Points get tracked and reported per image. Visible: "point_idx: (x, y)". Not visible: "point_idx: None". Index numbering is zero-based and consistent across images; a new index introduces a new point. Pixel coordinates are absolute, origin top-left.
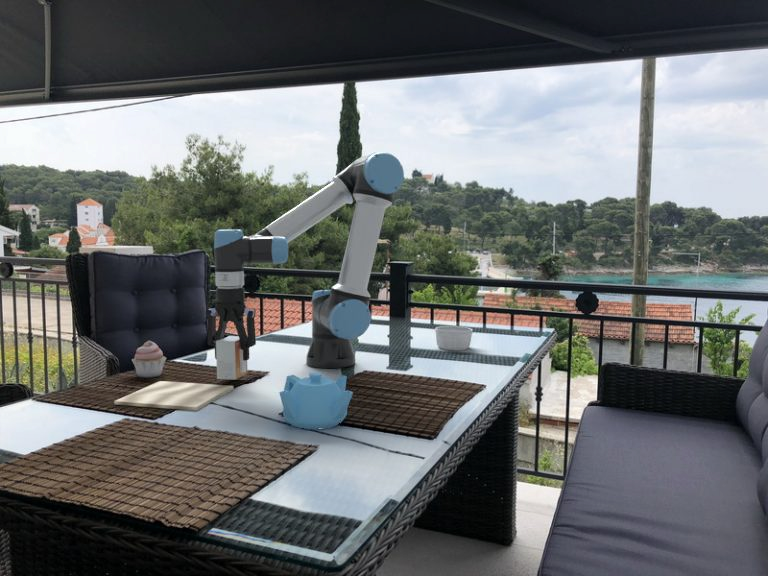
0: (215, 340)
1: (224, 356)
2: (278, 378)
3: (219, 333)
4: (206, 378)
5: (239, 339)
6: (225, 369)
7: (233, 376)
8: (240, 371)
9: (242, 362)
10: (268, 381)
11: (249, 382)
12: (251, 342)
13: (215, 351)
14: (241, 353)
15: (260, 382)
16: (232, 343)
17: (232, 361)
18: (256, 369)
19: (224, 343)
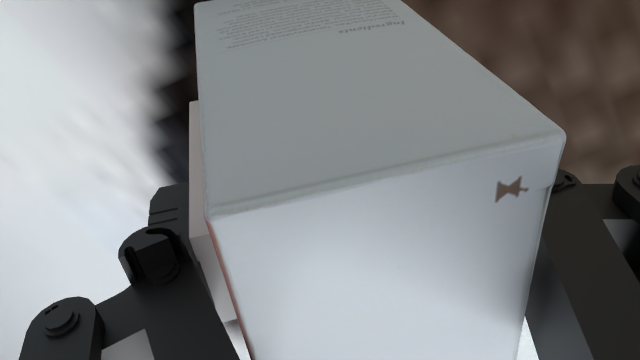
0: (599, 226)
1: (342, 55)
2: (70, 265)
3: (610, 326)
4: (500, 77)
5: (252, 351)
6: (302, 8)
7: (216, 5)
8: None
9: (189, 152)
10: (67, 187)
11: (167, 112)
12: (32, 358)
13: None
14: (196, 205)
15: (96, 144)
16: (247, 181)
17: (230, 54)
18: None
19: (394, 144)
